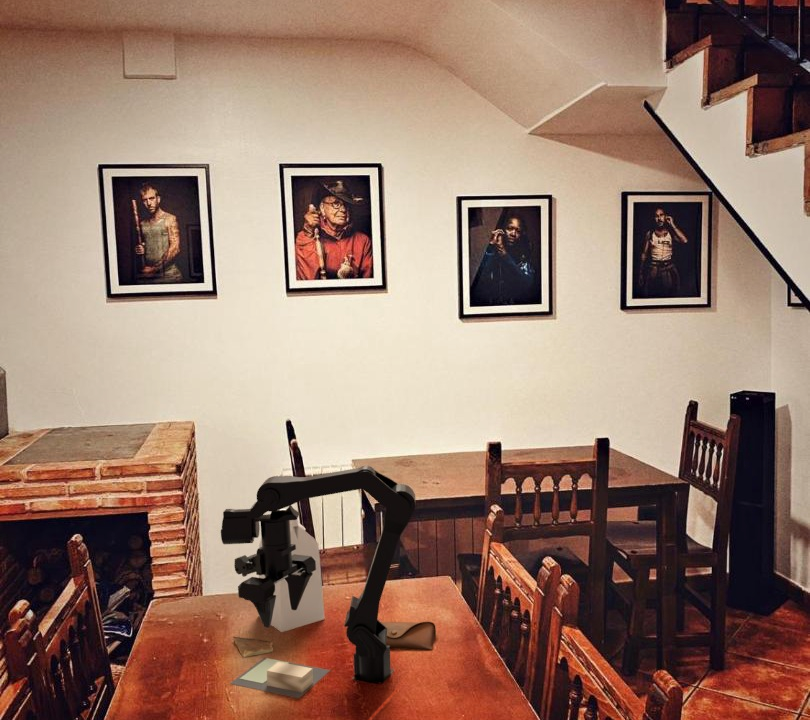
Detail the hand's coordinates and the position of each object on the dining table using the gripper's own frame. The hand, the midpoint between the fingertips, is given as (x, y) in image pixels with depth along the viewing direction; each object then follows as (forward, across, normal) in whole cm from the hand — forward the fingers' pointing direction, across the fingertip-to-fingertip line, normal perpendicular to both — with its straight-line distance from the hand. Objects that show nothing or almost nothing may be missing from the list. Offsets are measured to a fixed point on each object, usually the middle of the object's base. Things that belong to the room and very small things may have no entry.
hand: (281, 618), depth 153 cm
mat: (+12, 0, -1) cm, 13 cm away
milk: (+13, -26, -17) cm, 34 cm away
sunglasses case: (+14, -24, +12) cm, 30 cm away
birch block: (+12, +2, +3) cm, 13 cm away
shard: (+13, -8, -15) cm, 21 cm away
